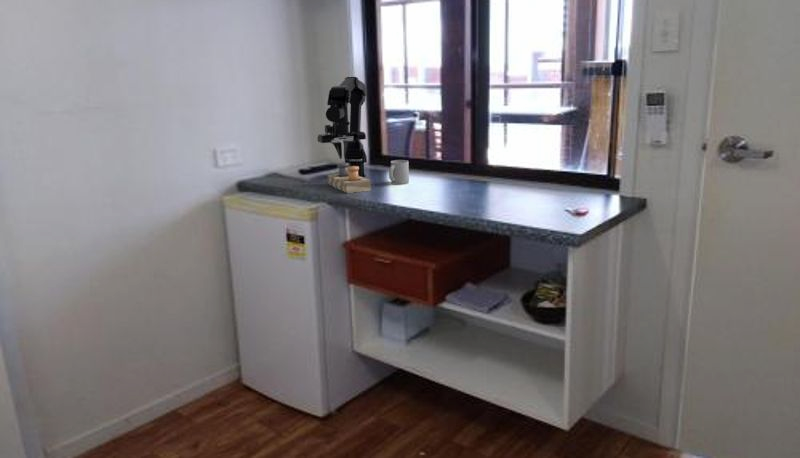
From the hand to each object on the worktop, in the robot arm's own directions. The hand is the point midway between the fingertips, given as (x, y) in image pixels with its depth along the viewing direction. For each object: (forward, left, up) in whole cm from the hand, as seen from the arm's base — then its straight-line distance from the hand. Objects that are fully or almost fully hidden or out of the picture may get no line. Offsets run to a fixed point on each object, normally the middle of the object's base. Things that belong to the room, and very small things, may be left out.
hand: (342, 158), depth 249 cm
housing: (0, +5, -11) cm, 12 cm away
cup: (-20, +9, -11) cm, 25 cm away
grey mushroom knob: (0, 0, -8) cm, 8 cm away
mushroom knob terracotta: (0, +10, -8) cm, 13 cm away
